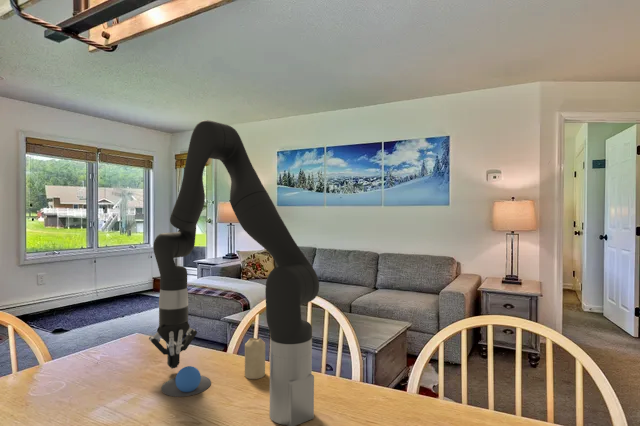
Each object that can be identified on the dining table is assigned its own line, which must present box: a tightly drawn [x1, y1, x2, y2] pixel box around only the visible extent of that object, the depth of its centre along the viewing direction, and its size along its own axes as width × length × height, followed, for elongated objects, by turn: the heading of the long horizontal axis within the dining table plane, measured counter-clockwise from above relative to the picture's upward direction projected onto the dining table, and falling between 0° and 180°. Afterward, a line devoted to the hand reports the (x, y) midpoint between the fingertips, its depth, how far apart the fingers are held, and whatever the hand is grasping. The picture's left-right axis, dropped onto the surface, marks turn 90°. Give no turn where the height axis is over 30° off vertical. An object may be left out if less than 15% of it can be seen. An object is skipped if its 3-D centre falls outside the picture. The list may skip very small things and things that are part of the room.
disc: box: [161, 374, 212, 398], centre depth 101 cm, size 12×12×1 cm
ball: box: [175, 365, 202, 392], centre depth 98 cm, size 6×6×6 cm
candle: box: [244, 337, 266, 380], centre depth 108 cm, size 6×6×10 cm
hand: (173, 367), depth 109 cm, fingers closed
